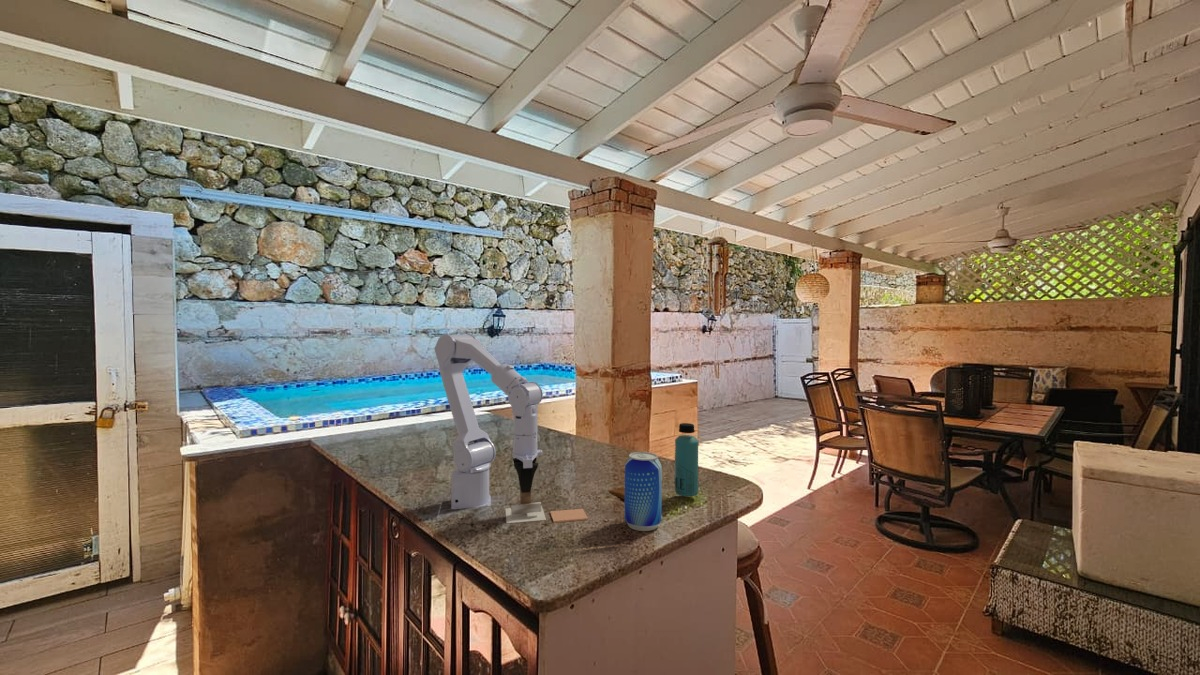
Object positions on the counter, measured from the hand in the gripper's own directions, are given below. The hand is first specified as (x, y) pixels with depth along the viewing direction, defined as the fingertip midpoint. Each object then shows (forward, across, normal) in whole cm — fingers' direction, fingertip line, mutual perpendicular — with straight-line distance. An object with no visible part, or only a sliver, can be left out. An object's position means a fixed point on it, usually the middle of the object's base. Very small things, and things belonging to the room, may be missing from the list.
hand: (525, 490), depth 111 cm
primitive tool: (+7, +5, -28) cm, 29 cm away
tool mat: (+6, 0, 0) cm, 6 cm away
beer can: (+6, -11, -26) cm, 29 cm away
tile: (+6, -1, -10) cm, 12 cm away
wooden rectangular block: (+5, 0, 0) cm, 5 cm away
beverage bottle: (+6, +3, -43) cm, 44 cm away
